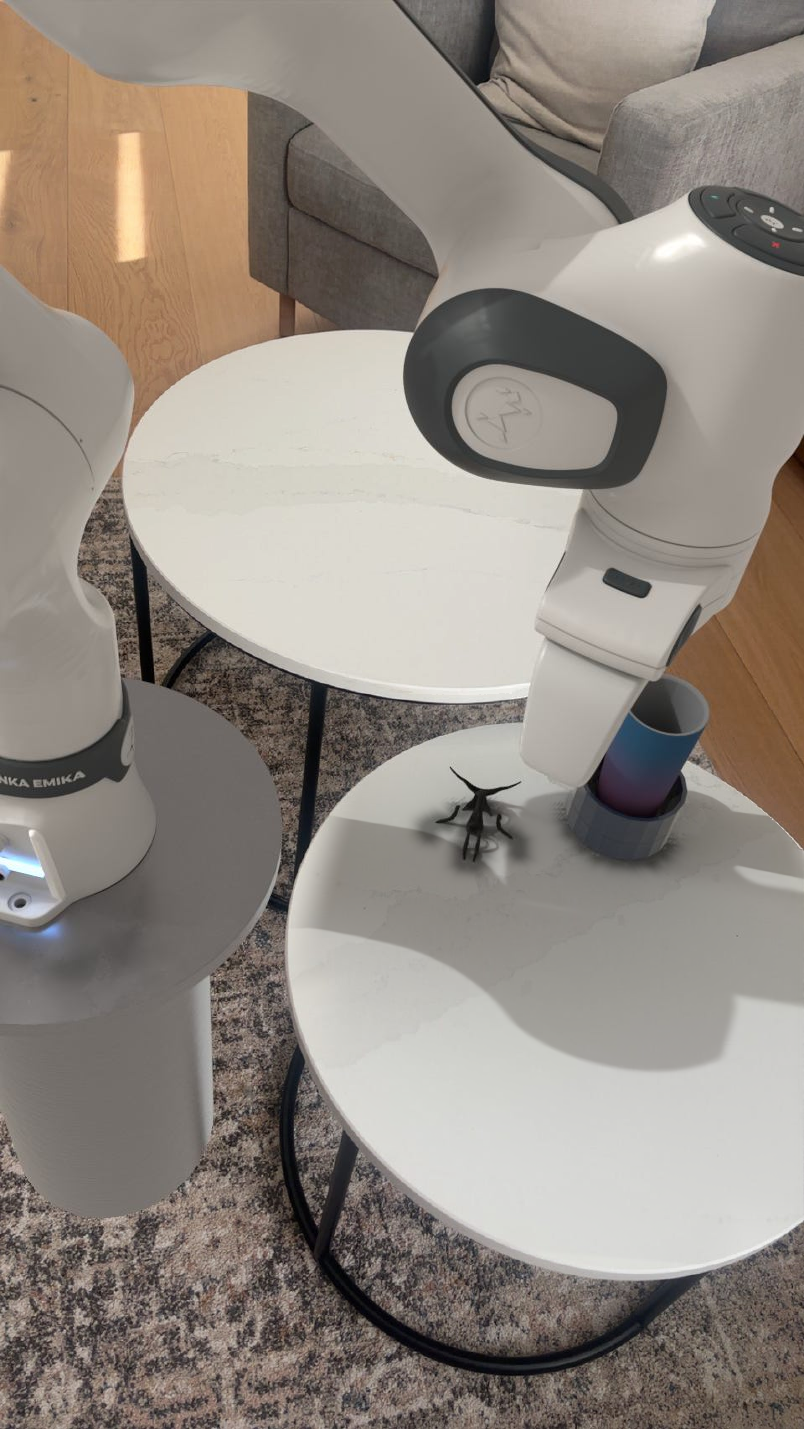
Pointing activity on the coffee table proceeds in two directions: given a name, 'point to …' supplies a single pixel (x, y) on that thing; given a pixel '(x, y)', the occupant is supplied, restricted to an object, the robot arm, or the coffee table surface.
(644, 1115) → the coffee table surface
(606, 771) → the cup
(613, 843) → the ring
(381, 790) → the coffee table surface
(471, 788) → the creature
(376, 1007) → the coffee table surface
